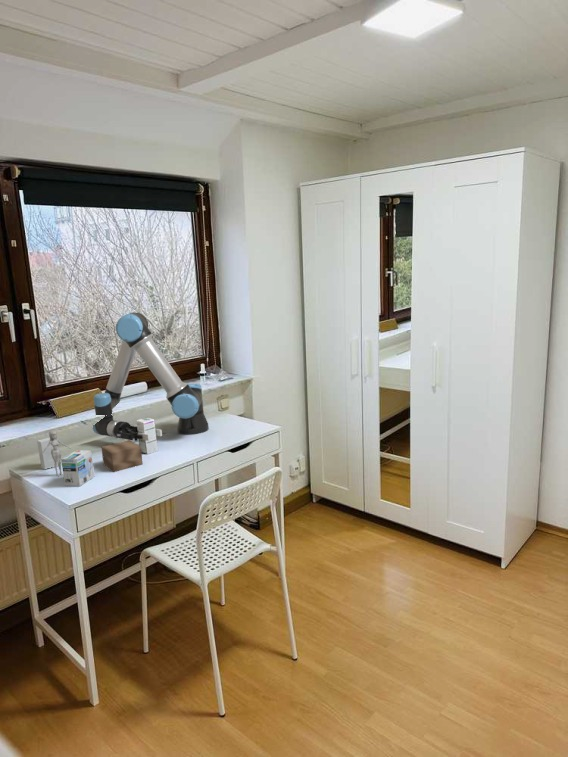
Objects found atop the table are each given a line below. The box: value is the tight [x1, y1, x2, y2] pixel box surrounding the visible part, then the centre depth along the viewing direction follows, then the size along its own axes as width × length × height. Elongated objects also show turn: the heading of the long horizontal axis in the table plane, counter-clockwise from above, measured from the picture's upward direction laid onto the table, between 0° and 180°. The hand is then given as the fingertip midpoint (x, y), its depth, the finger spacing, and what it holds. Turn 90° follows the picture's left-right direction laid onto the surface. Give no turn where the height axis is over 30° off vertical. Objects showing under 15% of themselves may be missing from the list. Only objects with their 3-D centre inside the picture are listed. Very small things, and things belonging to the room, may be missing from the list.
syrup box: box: [136, 417, 159, 455], centre depth 245 cm, size 6×6×14 cm
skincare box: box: [36, 436, 59, 470], centre depth 233 cm, size 6×4×12 cm
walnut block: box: [101, 439, 144, 473], centre depth 230 cm, size 12×12×8 cm
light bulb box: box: [60, 449, 96, 487], centre depth 214 cm, size 11×7×11 cm, turn 168°
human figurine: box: [39, 430, 72, 477], centre depth 222 cm, size 12×4×18 cm, turn 131°
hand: (154, 435), depth 242 cm, fingers closed on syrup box, 6 cm apart
